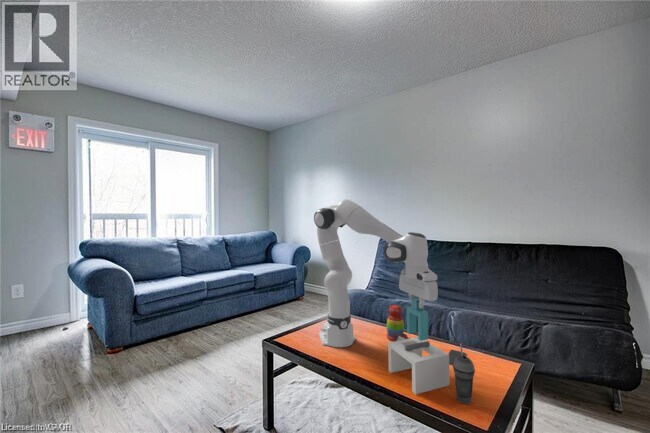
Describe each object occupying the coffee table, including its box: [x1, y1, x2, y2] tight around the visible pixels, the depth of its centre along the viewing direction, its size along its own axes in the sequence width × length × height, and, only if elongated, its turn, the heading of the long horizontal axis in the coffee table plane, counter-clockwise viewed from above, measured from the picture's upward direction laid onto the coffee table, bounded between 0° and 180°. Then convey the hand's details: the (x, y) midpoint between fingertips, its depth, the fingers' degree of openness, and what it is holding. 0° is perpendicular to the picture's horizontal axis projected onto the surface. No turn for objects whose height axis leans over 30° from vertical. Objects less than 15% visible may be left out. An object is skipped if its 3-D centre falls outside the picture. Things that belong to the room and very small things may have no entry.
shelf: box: [387, 336, 450, 395], centre depth 120 cm, size 18×16×14 cm
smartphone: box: [448, 349, 467, 366], centre depth 136 cm, size 7×1×15 cm
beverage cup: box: [452, 342, 476, 405], centre depth 105 cm, size 7×7×20 cm
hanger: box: [406, 297, 429, 341], centre depth 120 cm, size 9×4×15 cm, turn 21°
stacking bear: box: [385, 304, 409, 342], centre depth 159 cm, size 11×10×18 cm
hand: (416, 306), depth 120 cm, fingers closed on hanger, 3 cm apart
